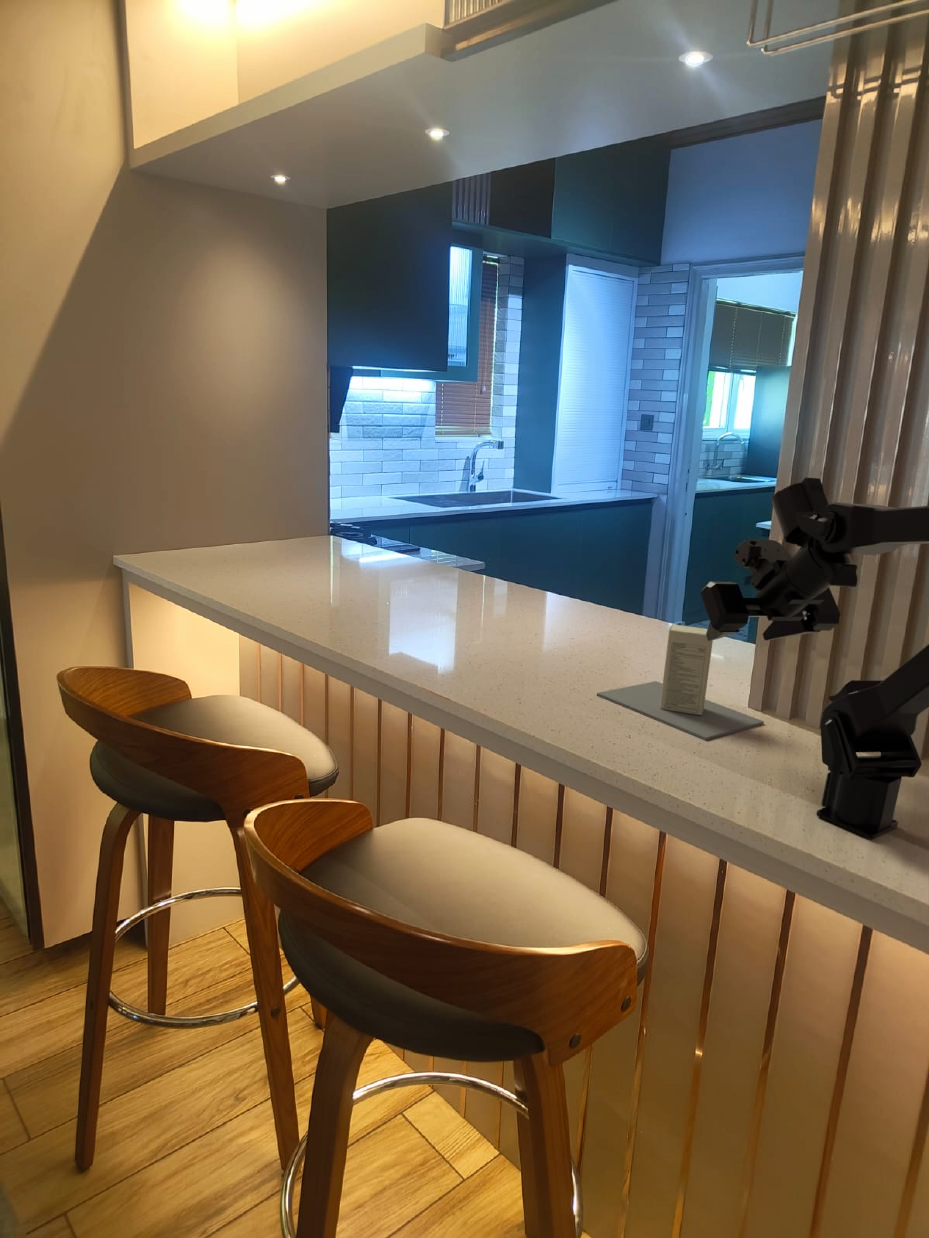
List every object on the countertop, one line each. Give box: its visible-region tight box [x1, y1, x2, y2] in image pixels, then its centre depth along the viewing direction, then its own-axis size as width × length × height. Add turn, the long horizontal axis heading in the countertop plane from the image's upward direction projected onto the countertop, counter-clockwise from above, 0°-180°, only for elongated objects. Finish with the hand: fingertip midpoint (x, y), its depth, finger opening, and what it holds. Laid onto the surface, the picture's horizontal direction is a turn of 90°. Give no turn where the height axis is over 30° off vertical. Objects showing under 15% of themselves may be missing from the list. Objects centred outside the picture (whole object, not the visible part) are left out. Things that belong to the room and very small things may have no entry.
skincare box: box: [660, 623, 714, 715], centre depth 128 cm, size 6×4×12 cm
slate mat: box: [596, 680, 765, 741], centre depth 130 cm, size 20×14×1 cm
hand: (736, 637), depth 120 cm, fingers open, 9 cm apart
